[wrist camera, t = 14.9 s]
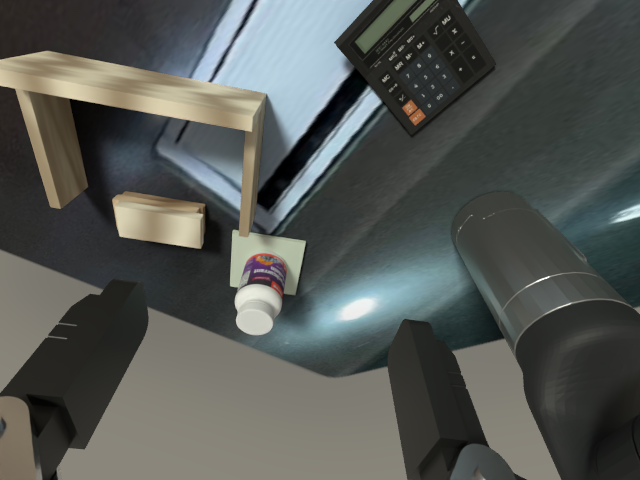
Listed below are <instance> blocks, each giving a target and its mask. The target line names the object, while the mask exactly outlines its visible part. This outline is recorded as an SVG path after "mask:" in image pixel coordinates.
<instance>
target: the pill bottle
mask: <svg viewBox="0 0 640 480" xmlns="http://www.w3.org/2000/svg"><path fill="white" fill-rule="evenodd" d="M286 274H287V266H286V263H285V261H284V260H283V258H282V257H280V256H279V255H278V254H276V253H273V252H270V251H259V252H256V253H254V254H252V255H251V256H250V257H249V258H248V260H247V261H246V264H245V267H244V271H243V274H242V277H241V280H240V284H239V287H238V290H237V294H236V297H235V306H236V309H237V311H238V314H237V318H236V323H237V326H238V327H239V328H240V329H241V330H242V331H243V332H245V333H248V334H251V335H262V334H265V333H267V332H269V331H270V330H271V329H272V327H273V322H274V318H275V317H276V316H277V315H278V314H279V312H280V310H281V308H282V302H283V294H284V287H285V281H286Z"/></svg>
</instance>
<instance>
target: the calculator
mask: <svg viewBox="0 0 640 480" xmlns="http://www.w3.org/2000/svg"><path fill="white" fill-rule="evenodd" d="M334 43H335V44H336V46H337V47H338V48H339V49H340V50H341V52H342V53H343V54H344V55H345V56H346V57H347V59H348V60H349V61H350V62H351V63H352V64H353V65H354V67H355V68H356V69H357V70H358V71H359V72H360V73H361V75H362V76H363V77H364V78H365V79H366V80H367V82H368V83H369V84H370V85H371V87H372V88H373V89H374V90H375V91H376V93H377V94H378V95H379V96H380V98H381V99H382V100H383V101H384V102H385V104H386V105H387V106H388V107H389V108H390V110H391V111H392V112H393V113H394V115H395V116H396V117H397V118H398V119H399V121H400V122H401V123H402V124H403V125H404V127H405V128H406V129H407V130H408V132H409V133H410V134H411V135H412V134H413V133H415V132H416V131H417V130H418V129H419V128H421V127H422V126H423V125H424V124H425V123H427V122H428V121H429V120H430V119H431V118H433V117H434V116H435V115H436V114H437V113H439V112H440V111H441V110H442V109H443V108H445V107H446V106H447V105H448V104H449V103H451V102H452V101H453V100H454V99H455V98H457V97H458V96H459V95H460V94H461V93H463V92H464V91H465V90H466V89H467V88H469V87H470V86H471V85H472V84H473V83H475V82H476V81H477V80H478V79H479V78H480V77H482V76H483V75H484V74H485V73H486V72H488V71H489V70H490V69H491V68H492V67H494V66H495V65H496V63H495V61H494V59H493V58H492V56H491V54H490V53H489V51H488V49H487V48H486V46H485V45H484V43H483V41H482V40H481V38H480V36H479V35H478V33H477V31H476V30H475V28H474V27H473V25H472V23H471V22H470V20H469V18H468V17H467V15H466V13H465V12H464V10H463V9H462V7H461V5H460V4H459V2H458V0H373V1H372V2H371V3H370V4H369V5H368V6H367V8H366V9H365V10H364V11H363V12H362V13H361V14H360V15H359V16H358V17H357V18H356V19H355V21H354V22H353V23H352V24H351V25H350V26H349V27H348V28H347V29H346V30H345V31H344V32H343V34H342V35H341V36H340V37H339V38H338V39H337V40H336V41H335V42H334Z"/></svg>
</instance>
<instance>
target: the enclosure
mask: <svg viewBox="0 0 640 480" xmlns="http://www.w3.org/2000/svg"><path fill="white" fill-rule="evenodd" d="M0 86H5V87H10V88H15V89H16V93H17V96H18V99H19V103H20V106H21V110H22V113H23V116H24V120H25V123H26V126H27V130H28V133H29V136H30V140H31V143H32V147H33V150H34V153H35V157H36V160H37V163H38V167H39V170H40V174H41V177H42V180H43V184H44V187H45V190H46V194H47V197H48V200H49V204H50V207H53V208H59V209H61V208H63V207H64V206H65V205H66V204H68V203H69V202H70V201H71V200H73V199H74V198H75V197H76V196H77V195H79V194H80V193H81V192H82V191H84V190H85V189H86V188H87V187H88V184H87V179H86V174H85V170H84V165H83V161H82V156H81V151H80V147H79V142H78V138H77V133H76V128H75V124H74V119H73V115H72V110H71V106H70V101H69V98H70V99H76V100H81V101H87V102H92V103H97V104H103V105H108V106H114V107H119V108H125V109H130V110H136V111H141V112H146V113H152V114H157V115H163V116H168V117H174V118H179V119H185V120H190V121H195V122H201V123H206V124H212V125H217V126H223V127H228V128H234V129H239V130H244V131H245V144H244V160H243V176H242V192H241V209H240V225H239V236H242V237H248V236H249V233H250V230H251V227H252V224H253V221H254V217H255V214H256V204H257V193H258V182H259V171H260V160H261V149H262V138H263V127H264V116H265V106H266V95H267V94H266V93H261V92H255V91H250V90H245V89H240V88H235V87H230V86H225V85H220V84H214V83H209V82H204V81H199V80H194V79H189V78H184V77H179V76H173V75H168V74H163V73H158V72H153V71H148V70H143V69H138V68H133V67H127V66H122V65H117V64H112V63H107V62H102V61H97V60H92V59H86V58H81V57H76V56H71V55H66V54H61V53H56V52H51V51H44V52H39V53H34V54H28V55H23V56H18V57H12V58H7V59H2V60H0Z"/></svg>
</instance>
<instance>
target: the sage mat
mask: <svg viewBox="0 0 640 480" xmlns="http://www.w3.org/2000/svg"><path fill="white" fill-rule="evenodd" d="M305 244H306V241H302V240H296V239H289V238H283V237H276V236H270V235H263V234H257V233H251V232H250V233H249V236H248V237H242V236H239V231H238V230H233V234H232V255H231V275H230V286H232V287H239V284H240V280H241V277H242V274H243V271H244V267H245V264H246V261H247V260H248V258H249V257H250V256H251V255H252V254H254V253H256V252H259V251H270V252H273V253H276V254H278V255H279V256H280V257H282V258H283V260H284V261H285V263H286V266H287V274H286V281H285V287H284V294H290V295H295V294H296V289H297V284H298V279H299V274H300V269H301V264H302V259H303V254H304V249H305Z"/></svg>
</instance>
